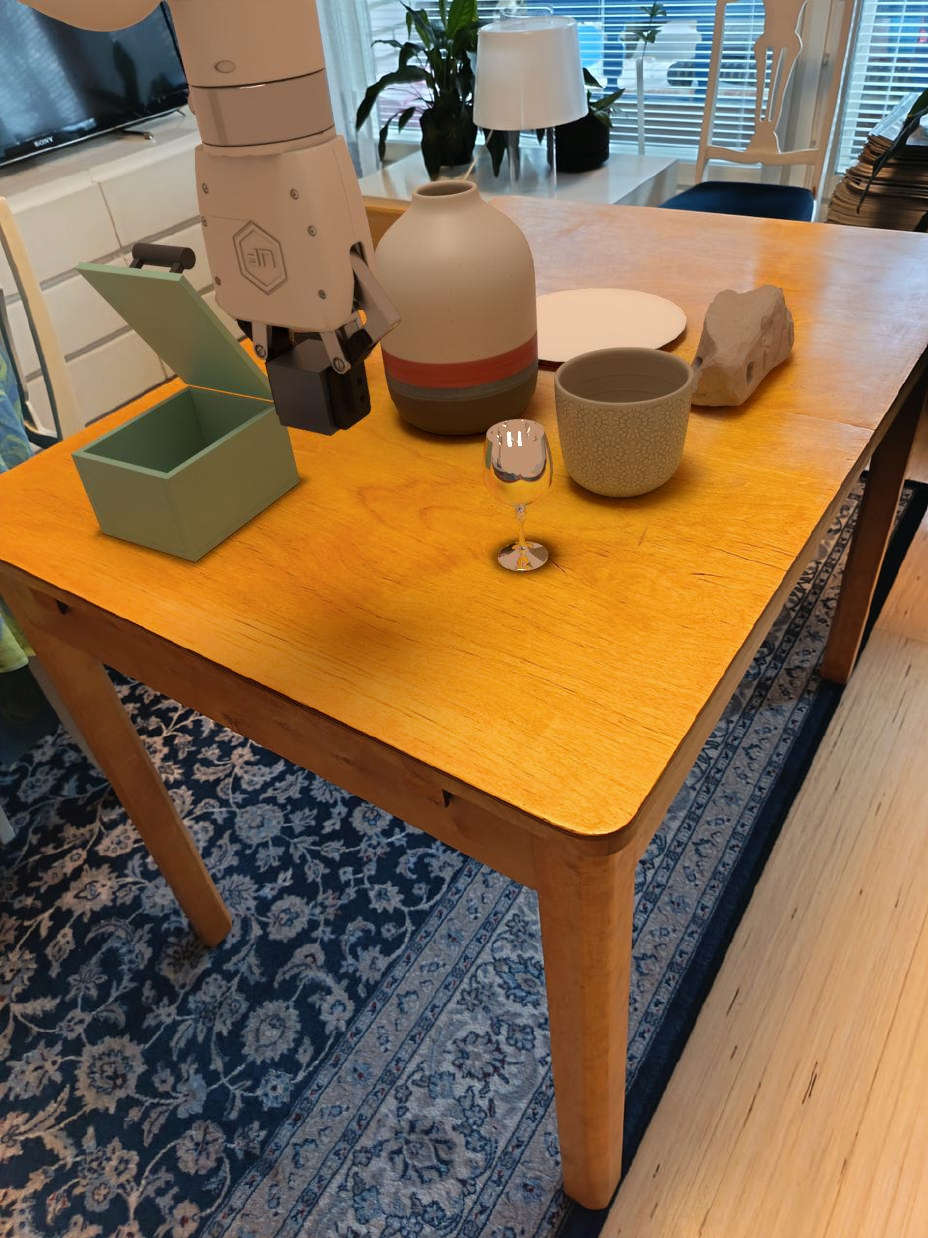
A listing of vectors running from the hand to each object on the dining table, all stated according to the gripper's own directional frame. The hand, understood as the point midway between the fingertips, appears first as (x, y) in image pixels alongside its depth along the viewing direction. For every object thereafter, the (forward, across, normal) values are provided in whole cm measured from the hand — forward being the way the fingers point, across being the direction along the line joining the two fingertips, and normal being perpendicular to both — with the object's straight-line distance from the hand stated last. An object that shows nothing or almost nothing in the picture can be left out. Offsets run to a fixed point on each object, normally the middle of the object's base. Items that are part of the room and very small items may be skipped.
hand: (323, 412), depth 62 cm
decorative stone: (+19, +13, +54) cm, 59 cm away
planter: (+19, +9, +30) cm, 36 cm away
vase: (+19, -13, +37) cm, 43 cm away
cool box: (+19, -27, +9) cm, 34 cm away
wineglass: (+19, +7, +14) cm, 25 cm away
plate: (+19, -10, +62) cm, 66 cm away
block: (0, 0, 0) cm, 0 cm away
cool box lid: (+3, -27, +12) cm, 30 cm away
